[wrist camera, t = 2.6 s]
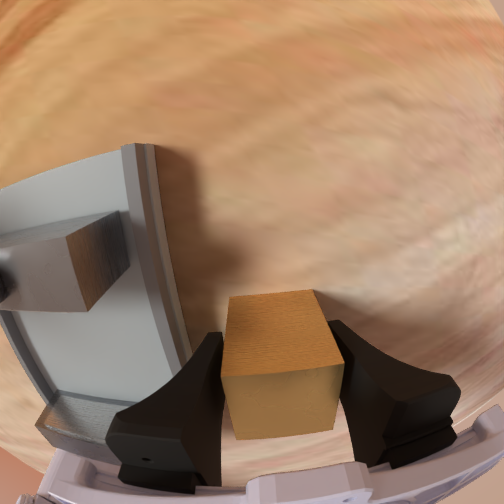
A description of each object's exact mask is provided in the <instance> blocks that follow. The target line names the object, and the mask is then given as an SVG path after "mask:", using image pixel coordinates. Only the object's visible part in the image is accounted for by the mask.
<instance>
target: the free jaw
mask: <svg viewBox="0 0 504 504" xmlns="http://www.w3.org/2000/svg"><path fill="white" fill-rule="evenodd" d="M130 266H131V265H130V261H129V257H128V252H127V248H126V243H125V238H124V234H123V229H122V223H121V218H120V212H119V210H115V211H109V212H103V213H98V214H92V215H87V216H82V217H77V218H72V219H67V220H62V221H57V222H52V223H48V224H43V225H39V226H35V227H30V228H26V229H22V230H18V231H14V232H10V233H6V234H2V235H0V310H11V311H31V312H63V313H74V312H88V311H89V310H90V309H91V308H92V307H93V306H94V305H95V303H96V302H97V301H98V300H99V299H100V298H101V297H102V296H103V295H104V294H105V293H106V291H107V290H108V289H109V288H110V287H111V286H112V285H113V284H114V283H115V282H116V281H117V280H118V279H119V278H120V277H121V275H122V274H123V273H124V272H125V271H126V270H127V269H128V268H129V267H130Z"/></svg>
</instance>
